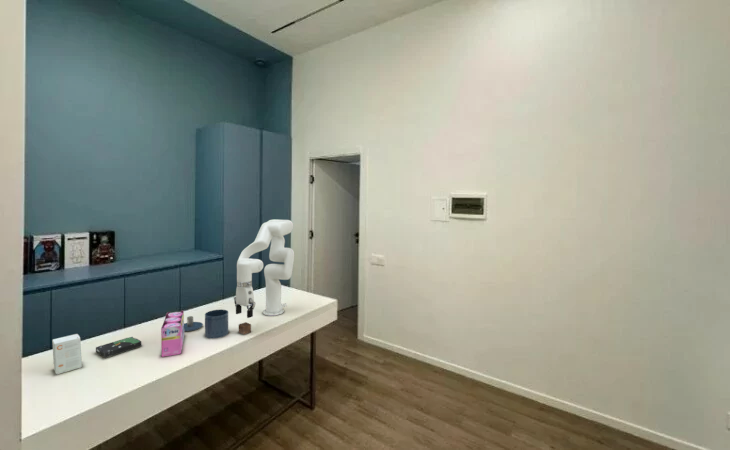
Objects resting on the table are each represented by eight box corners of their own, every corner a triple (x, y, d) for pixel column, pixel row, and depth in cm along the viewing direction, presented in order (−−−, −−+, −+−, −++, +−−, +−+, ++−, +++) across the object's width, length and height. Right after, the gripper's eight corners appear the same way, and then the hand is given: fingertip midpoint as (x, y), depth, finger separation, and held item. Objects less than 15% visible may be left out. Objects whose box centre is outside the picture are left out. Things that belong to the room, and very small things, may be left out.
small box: (79, 362, 139) (78, 333, 138) (82, 367, 134) (80, 337, 134) (53, 369, 132) (51, 339, 131) (55, 375, 128) (54, 343, 127)
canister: (220, 328, 178) (220, 308, 178) (232, 333, 172) (232, 312, 171) (200, 334, 169) (200, 313, 168) (212, 340, 163) (212, 318, 162)
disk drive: (104, 359, 142) (142, 346, 155) (104, 353, 142) (141, 340, 154) (95, 353, 147) (132, 341, 160) (95, 347, 147) (131, 335, 160)
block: (245, 330, 177) (245, 322, 176) (250, 332, 174) (250, 324, 174) (238, 332, 173) (238, 324, 173) (243, 334, 170) (243, 326, 170)
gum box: (167, 336, 166) (167, 311, 165) (185, 334, 169) (184, 309, 168) (161, 357, 144) (160, 328, 143) (181, 354, 148) (180, 325, 147)
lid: (195, 322, 186) (195, 311, 186) (207, 327, 179) (207, 316, 179) (173, 328, 176) (172, 318, 176) (184, 334, 169) (184, 323, 169)
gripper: (260, 285, 170) (260, 316, 171) (240, 280, 179) (240, 310, 180) (248, 288, 164) (248, 320, 165) (228, 282, 173) (228, 313, 174)
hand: (244, 315), depth 172 cm, fingers open, 9 cm apart
